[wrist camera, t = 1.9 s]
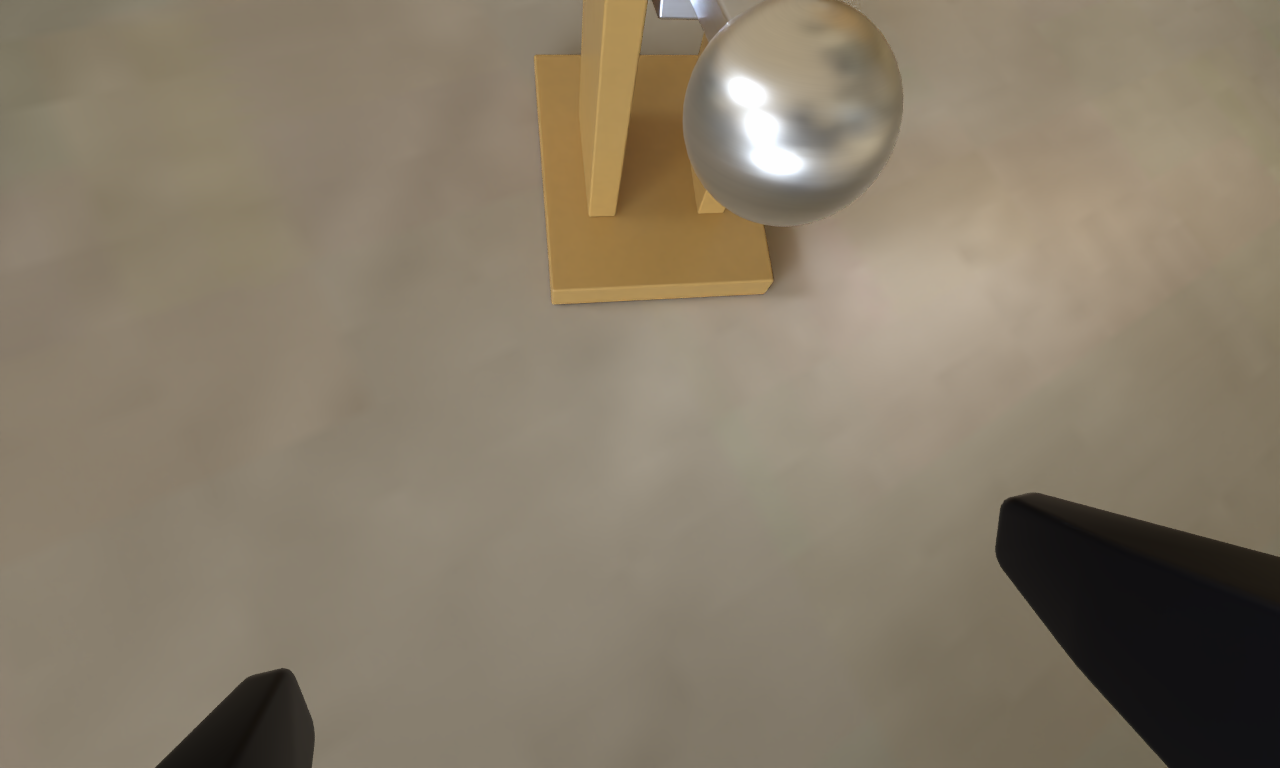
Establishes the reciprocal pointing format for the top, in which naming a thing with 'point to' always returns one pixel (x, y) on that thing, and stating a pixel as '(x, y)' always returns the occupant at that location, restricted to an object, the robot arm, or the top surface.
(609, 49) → the bracket
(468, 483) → the top surface
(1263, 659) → the robot arm
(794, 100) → the tap lever
